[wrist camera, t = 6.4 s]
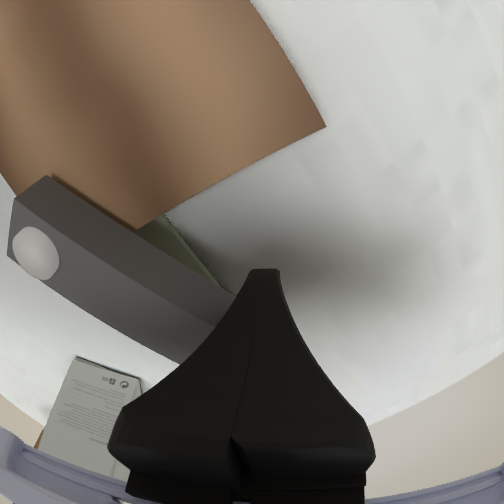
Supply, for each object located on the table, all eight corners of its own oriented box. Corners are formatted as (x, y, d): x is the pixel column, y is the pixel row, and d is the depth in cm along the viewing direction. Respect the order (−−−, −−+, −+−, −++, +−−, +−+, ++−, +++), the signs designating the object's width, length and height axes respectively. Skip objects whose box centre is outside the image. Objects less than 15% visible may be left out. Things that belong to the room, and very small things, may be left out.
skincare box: (74, 354, 21) (6, 519, 9) (145, 378, 21) (92, 562, 9) (91, 400, 26) (47, 530, 14) (149, 420, 26) (113, 557, 14)
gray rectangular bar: (33, 228, 12) (1, 261, 10) (46, 174, 10) (6, 204, 8) (247, 358, 15) (242, 401, 13) (289, 326, 13) (288, 373, 11)
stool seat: (196, 361, 19) (190, 387, 18) (-28, 79, 10) (-54, 89, 8) (397, 294, 15) (407, 323, 13) (153, -108, 5) (133, -127, 3)
